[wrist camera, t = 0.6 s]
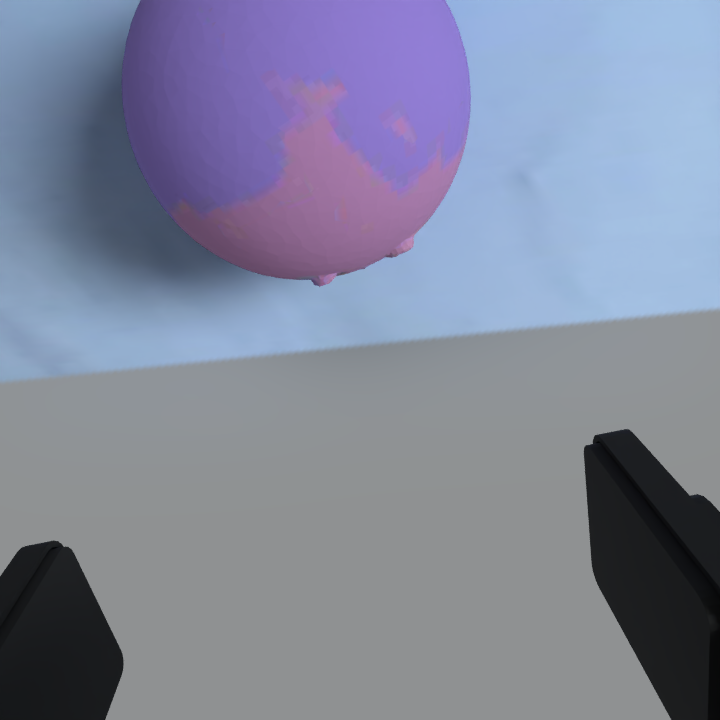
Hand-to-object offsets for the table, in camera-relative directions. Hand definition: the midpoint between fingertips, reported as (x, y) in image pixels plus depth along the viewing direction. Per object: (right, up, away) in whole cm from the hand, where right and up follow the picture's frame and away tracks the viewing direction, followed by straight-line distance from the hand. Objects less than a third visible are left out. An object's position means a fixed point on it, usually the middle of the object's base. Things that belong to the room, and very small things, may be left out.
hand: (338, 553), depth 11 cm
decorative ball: (-3, +18, +24) cm, 30 cm away
